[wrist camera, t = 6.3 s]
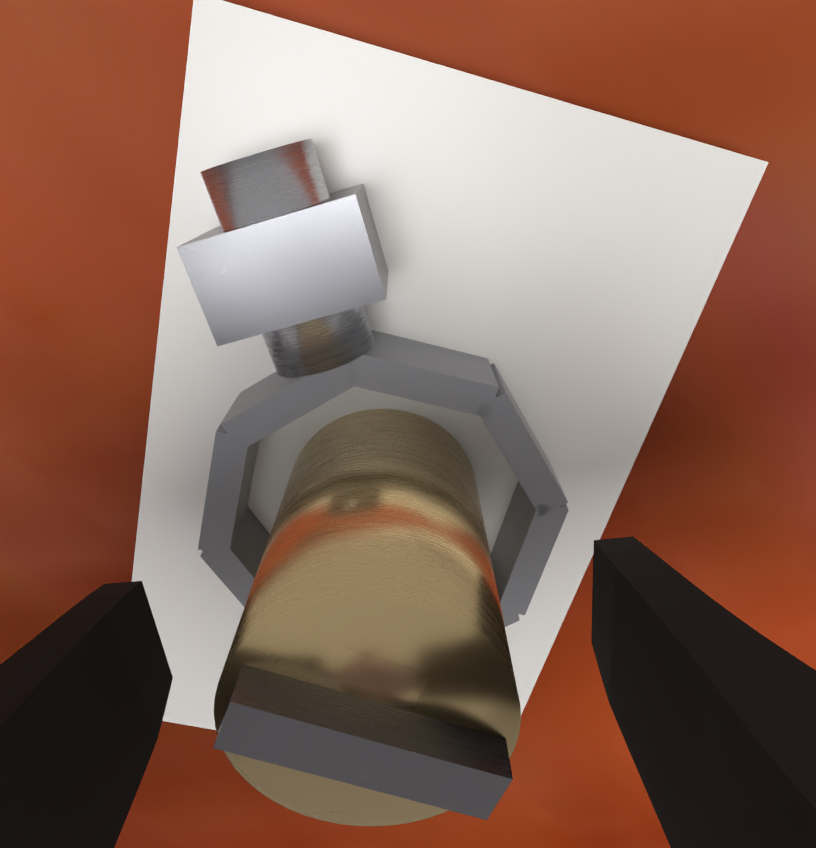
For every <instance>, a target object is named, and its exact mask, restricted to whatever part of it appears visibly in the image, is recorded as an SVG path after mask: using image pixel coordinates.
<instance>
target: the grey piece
mask: <svg viewBox="0 0 816 848" xmlns="http://www.w3.org/2000/svg"><path fill="white" fill-rule="evenodd" d="M200 173H201V176H202V178H203V181H204V183H205V186H206V189H207V191H208V194H209V197H210V199H211V202H212V204H213V207H214V210H215V212H216V215H217V218H218V220H219V223H220V225H221V226H219V227H216V228H213V229H211V230H209V231H207V232H205V233H203V234H202V235H200V236H198V237H196V238H194V239H192V240H190V241H188V242H186V243H184V244H182V245H180V246H178V247H177V250H178V252H179V255H180V257H181V259H182V262H183V264H184V267H185V269H186V272H187V274H188V276H189V279H190V281H191V284H192V286H193V288H194V291H195V293H196V296H197V298H198V301H199V303H200V305H201V308H202V310H203V313H204V315H205V318H206V320H207V322H208V325H209V327H210V330H211V332H212V334H213V337H214V339H215V342H216V344H217V346H221V345H224V344H228V343H231V342H235V341H239V340H242V339H246V338H249V337H253V336H257V335H260V334H262V336H263V338H264V341H265V343H266V346H267V349H268V351H269V354H270V357H271V359H272V362H273V364H274V367H275V370H276V372H277V374H278V375H279V376H281V377H285V378H296V377H304V376H310V375H314V374H318V373H322V372H326V371H329V370H332V369H335V368H337V367H340V366H342V365H345V364H347V363H349V362H351V361H353V360H355V359H357V358H359V357H360V356H362V355H364V354H365V353H366V352H368V351H369V350H370V349H371V348H372V347H373V345H374V338H373V335H372V332H371V329H370V326H369V322H368V319H367V316H366V313H365V309H364V305H368V304H371V303H375V302H379V301H382V300H386V297H387V285H388V273H389V271H388V268H387V264H386V261H385V258H384V254H383V251H382V247H381V244H380V240H379V237H378V233H377V230H376V226H375V223H374V219H373V216H372V212H371V209H370V205H369V202H368V198H367V195H366V191H365V188H364V184H360V185H356V186H353V187H350V188H346V189H343V190H340V191H336V192H333V193H330V194H329V193H328V190H327V187H326V184H325V180H324V177H323V174H322V171H321V167H320V164H319V161H318V158H317V154H316V151H315V148H314V145H313V142H312V139H306V140H302V141H298V142H295V143H291V144H287V145H284V146H280V147H277V148H273V149H270V150H267V151H263V152H260V153H257V154H253V155H250V156H247V157H243V158H240V159H237V160H234V161H231V162H227V163H224V164H221V165H218V166H215V167H212V168H209V169H206V170H204V171H201V172H200Z"/></svg>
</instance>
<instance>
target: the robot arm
mask: <svg viewBox="0 0 816 848" xmlns="http://www.w3.org/2000/svg"><path fill="white" fill-rule="evenodd" d="M592 645H593V649H594V652H595V656H596V659H597V663H598V666H599V670H600V674H601V677H602V680H603V684H604V687H605V690H606V693H607V697H608V700H609V703H610V706H611V708H612V710H613V713H614V715H615V718H616V720H617V722H618V725H619V727H620V730H621V732H622V734H623V737H624V739H625V741H626V744H627V746H628V749H629V751H630V753H631V756H632V758H633V760H634V763H635V765H636V767H637V770H638V772H639V774H640V777H641V779H642V781H643V784H644V786H645V788H646V791H647V793H648V795H649V798H650V800H651V802H652V805H653V807H654V809H655V812H656V814H657V816H658V819H659V821H660V823H661V826H662V828H663V830H664V833H665V835H666V837H667V840H668V842H669V844H670V847H671V848H816V670H814V669H813V668H811V667H809V666H808V665H806V664H805V663H803V662H802V661H800V660H799V659H797V658H796V657H794V656H793V655H791V654H790V653H788V652H787V651H785V650H784V649H782V648H781V647H779V646H778V645H776V644H775V643H773V642H772V641H770V640H769V639H767V638H766V637H764V636H763V635H761V634H760V633H758V632H757V631H756V630H754V629H753V628H751V627H750V626H749V625H747V624H746V623H744V622H743V621H741V620H740V619H739V618H737V617H736V616H735V615H733V614H732V613H731V612H729V611H728V610H726V609H725V608H724V607H722V606H721V605H720V604H718V603H717V602H716V601H714V600H713V599H712V598H710V597H709V596H708V595H706V594H705V593H704V592H703V591H701V590H700V589H699V588H697V587H696V586H695V585H693V584H692V583H691V582H690V581H688V580H687V579H686V578H685V577H683V576H682V575H681V574H680V573H678V572H677V571H676V570H674V569H673V568H672V567H671V566H669V565H668V564H667V563H666V562H664V561H663V560H662V559H661V558H659V557H658V556H657V555H656V554H654V553H653V552H652V551H651V550H649V549H648V548H647V547H646V546H644V545H643V544H642V543H641V542H639V541H638V540H637V539H635V538H634V537H625V538H614V539H602V540H594V555H593V599H592ZM172 679H173V676H172V673H171V670H170V667H169V664H168V661H167V658H166V655H165V652H164V648H163V645H162V642H161V639H160V636H159V633H158V630H157V627H156V624H155V620H154V617H153V614H152V611H151V608H150V605H149V602H148V599H147V596H146V592H145V589H144V586H143V583H142V581H134V582H123V583H112V584H104V585H102V586H101V587H100V588H98V589H97V590H95V591H94V592H92V593H91V594H90V595H88V596H87V597H86V598H84V599H83V600H82V601H80V602H79V603H78V604H76V605H75V606H74V607H73V608H71V609H70V610H69V611H67V612H66V613H65V614H64V615H62V616H61V617H60V618H59V619H57V620H56V621H55V622H54V623H52V624H51V625H50V626H49V627H47V628H46V629H45V630H44V631H42V632H41V633H40V634H39V635H37V636H36V637H35V638H34V639H32V640H31V641H30V642H29V643H27V644H26V645H25V646H24V647H22V648H21V649H20V650H18V651H17V652H16V653H15V654H13V655H12V656H11V657H10V658H8V659H7V660H6V661H5V662H3V663H2V664H1V665H0V848H114V847H115V844H116V842H117V839H118V837H119V834H120V832H121V829H122V827H123V824H124V822H125V819H126V817H127V815H128V812H129V810H130V807H131V805H132V802H133V800H134V797H135V795H136V792H137V790H138V787H139V785H140V782H141V780H142V777H143V775H144V772H145V769H146V767H147V764H148V762H149V759H150V757H151V754H152V752H153V749H154V746H155V744H156V741H157V738H158V734H159V731H160V727H161V723H162V720H163V716H164V712H165V708H166V704H167V700H168V696H169V692H170V688H171V684H172Z"/></svg>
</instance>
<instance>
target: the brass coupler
mask: <svg viewBox="0 0 816 848" xmlns="http://www.w3.org/2000/svg"><path fill="white" fill-rule="evenodd" d="M214 720H215V728H216V731H217V738H216V741H215V744H214V747H213V748H215V749H218V750H222V751H224V752H225V754H226V756H227V757H228V759H229V760H230V762H231V763H232V765H233V766H234V768H235V769H236V770H237V771H238V772H239V773H240V774H241V776H242V777H243V778H244V779H245V780H246V781H247V782H248V783H250V784H251V785H252V786H253V787H254V788H255V789H257V790H258V791H259V792H261V793H262V794H264V795H265V796H267V797H268V798H270V799H271V800H273V801H275V802H276V803H278V804H280V805H282V806H284V807H286V808H288V809H290V810H293V811H295V812H298V813H300V814H302V815H305V816H309V817H312V818H315V819H319V820H323V821H328V822H332V823H337V824H345V825H354V826H387V825H397V824H404V823H410V822H415V821H419V820H423V819H427V818H430V817H433V816H436V815H438V814H441V813H444V812H446V811H448V810H451V811H454V812H458V813H462V814H466V815H470V816H473V817H477V818H481V819H485V820H487V819H488V817H489V816H490V814H491V812H492V811H493V809H494V808H495V806H496V805H497V803H498V801H499V800H500V798H501V797H502V795H503V794H504V792H505V791H506V789H507V787H508V786H509V784H510V783H511V781H512V780H513V778H512V772H511V766H510V760H509V758H510V756H511V754H512V752H513V750H514V748H515V745H516V742H517V739H518V736H519V730H520V723H521V708H520V701H519V696H518V691H517V686H516V681H515V676H514V671H513V666H512V661H511V656H510V651H509V646H508V641H507V636H506V631H505V626H504V621H503V616H502V611H501V606H500V601H499V596H498V591H497V586H496V581H495V576H494V570H493V565H492V560H491V555H490V550H489V545H488V540H487V535H486V530H485V525H484V520H483V515H482V510H481V505H480V500H479V495H478V490H477V485H476V480H475V475H474V471H473V468H472V466H471V463H470V460H469V459H468V457H467V455H466V453H465V451H464V450H463V449H462V447H461V446H460V444H459V443H458V442H457V441H456V440H455V439H454V438H453V437H452V436H451V435H450V434H449V433H448V432H447V431H445V430H444V429H443V428H442V427H440V426H439V425H437V424H435V423H434V422H432V421H430V420H429V419H426V418H424V417H421V416H419V415H417V414H413V413H410V412H406V411H401V410H394V409H370V410H363V411H358V412H354V413H351V414H348V415H345V416H342V417H340V418H338V419H336V420H334V421H332V422H330V423H329V424H327V425H326V426H324V427H323V428H321V429H320V430H319V431H318V432H317V433H316V434H315V435H313V436H312V437H311V439H310V440H309V441H308V442H307V443H306V445H305V446H304V447H303V449H302V451H301V452H300V454H299V455H298V458H297V460H296V462H295V465H294V467H293V470H292V473H291V476H290V479H289V482H288V484H287V487H286V490H285V493H284V496H283V499H282V502H281V504H280V507H279V510H278V513H277V516H276V519H275V522H274V525H273V527H272V530H271V533H270V536H269V539H268V542H267V545H266V547H265V550H264V553H263V556H262V559H261V562H260V565H259V567H258V570H257V573H256V576H255V579H254V582H253V585H252V588H251V590H250V593H249V596H248V599H247V602H246V605H245V608H244V610H243V613H242V616H241V619H240V622H239V625H238V628H237V630H236V633H235V636H234V639H233V642H232V645H231V648H230V651H229V653H228V656H227V659H226V662H225V665H224V668H223V671H222V673H221V676H220V679H219V682H218V686H217V690H216V694H215V699H214Z"/></svg>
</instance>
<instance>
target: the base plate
mask: <svg viewBox="0 0 816 848" xmlns="http://www.w3.org/2000/svg"><path fill="white" fill-rule="evenodd" d="M306 139H312V142H313V145H314V148H315V151H316V154H317V158H318V161H319V164H320V167H321V171H322V174H323V177H324V180H325V184H326V187H327V190H328V193H329V194H330V193H333V192H336V191H340V190H343V189H346V188H350V187H353V186H356V185H360V184H364V188H365V191H366V195H367V198H368V202H369V205H370V209H371V212H372V216H373V219H374V223H375V226H376V230H377V233H378V237H379V240H380V244H381V247H382V251H383V254H384V258H385V261H386V264H387V268H388V271H389V273H388V285H387V297H386V300H382V301H379V302H375V303H371V304H368V305H364V309H365V313H366V316H367V319H368V322H369V326H370V329H371V332H372V335H373V338H374V345H373V347H372V348H371V349H370V350H369V351H368V352H366V353H365V354H364V355H362V356H360V357H359V358H357V359H355V360H353V361H351V362H349V363H347V364H345V365H342V366H340V367H337V368H335V369H332V370H329V371H326V372H322V373H318V374H314V375H310V376H304V377H296V378H285V377H281V376H279V375H278V374H277V372H276V370H275V367H274V364H273V362H272V359H271V357H270V354H269V351H268V349H267V346H266V343H265V341H264V338H263V336H262V334H260V335H257V336H253V337H249V338H246V339H242V340H239V341H235V342H231V343H228V344H224V345H221V346H217V344H216V342H215V339H214V337H213V334H212V332H211V330H210V327H209V325H208V322H207V320H206V318H205V315H204V313H203V310H202V308H201V305H200V303H199V301H198V298H197V296H196V293H195V291H194V288H193V286H192V284H191V281H190V279H189V276H188V274H187V272H186V269H185V267H184V264H183V262H182V259H181V257H180V255H179V252H178V250H177V247H178V246H180V245H182V244H184V243H186V242H188V241H190V240H192V239H194V238H196V237H198V236H200V235H202V234H203V233H205V232H207V231H209V230H211V229H213V228H216V227H219V226H221V225H220V223H219V220H218V218H217V215H216V212H215V210H214V207H213V204H212V202H211V199H210V197H209V194H208V191H207V189H206V186H205V183H204V181H203V178H202V176H201V173H200V172H201V171H204V170H206V169H209V168H212V167H215V166H218V165H221V164H224V163H227V162H231V161H234V160H237V159H240V158H243V157H247V156H250V155H253V154H257V153H260V152H263V151H267V150H270V149H273V148H277V147H280V146H284V145H287V144H291V143H295V142H298V141H302V140H306ZM767 165H768V162H766V161H762V160H759V159H755V158H752V157H749V156H745V155H742V154H739V153H735V152H732V151H728V150H725V149H722V148H718V147H715V146H712V145H708V144H705V143H702V142H698V141H695V140H691V139H688V138H685V137H681V136H678V135H675V134H671V133H668V132H664V131H661V130H658V129H654V128H651V127H648V126H644V125H641V124H637V123H634V122H631V121H627V120H624V119H621V118H617V117H614V116H610V115H607V114H604V113H600V112H597V111H594V110H590V109H587V108H584V107H580V106H577V105H573V104H570V103H567V102H563V101H560V100H557V99H553V98H550V97H546V96H543V95H540V94H536V93H533V92H530V91H526V90H523V89H519V88H516V87H513V86H509V85H506V84H503V83H499V82H496V81H493V80H489V79H486V78H482V77H479V76H476V75H472V74H469V73H466V72H462V71H459V70H455V69H452V68H449V67H445V66H442V65H439V64H435V63H432V62H428V61H425V60H422V59H418V58H415V57H412V56H408V55H405V54H402V53H398V52H395V51H391V50H388V49H385V48H381V47H378V46H375V45H371V44H368V43H364V42H361V41H358V40H354V39H351V38H348V37H344V36H341V35H337V34H334V33H331V32H327V31H324V30H321V29H317V28H314V27H310V26H307V25H304V24H300V23H297V22H294V21H290V20H287V19H284V18H280V17H277V16H273V15H270V14H267V13H263V12H260V11H257V10H253V9H250V8H246V7H243V6H240V5H236V4H233V3H230V2H226V1H223V0H194V1H193V11H192V20H191V29H190V39H189V48H188V58H187V67H186V76H185V86H184V95H183V104H182V114H181V123H180V133H179V142H178V151H177V161H176V170H175V180H174V189H173V198H172V208H171V217H170V227H169V236H168V245H167V255H166V264H165V273H164V283H163V292H162V302H161V311H160V320H159V330H158V339H157V349H156V358H155V367H154V377H153V386H152V396H151V405H150V414H149V424H148V433H147V442H146V452H145V461H144V471H143V480H142V489H141V499H140V508H139V518H138V527H137V536H136V546H135V555H134V564H133V574H132V582H134V581H142V583H143V586H144V589H145V592H146V596H147V599H148V602H149V605H150V608H151V611H152V614H153V617H154V620H155V624H156V627H157V630H158V633H159V636H160V639H161V642H162V645H163V648H164V652H165V655H166V658H167V661H168V664H169V667H170V670H171V673H172V676H173V679H172V684H171V688H170V692H169V696H168V700H167V704H166V708H165V712H164V716H163V720H162V721H166V722H172V723H177V724H183V725H189V726H195V727H201V728H207V729H212V730H216V728H215V720H214V699H215V694H216V690H217V686H218V682H219V679H220V676H221V673H222V671H223V668H224V665H225V662H226V659H227V656H228V653H229V651H230V648H231V645H232V642H233V639H234V636H235V633H236V630H237V628H238V625H239V622H240V619H241V616H242V613H243V610H244V608H245V605H246V602H247V599H248V596H249V593H250V590H251V588H252V585H253V582H254V579H255V576H256V573H257V570H258V567H259V565H260V562H261V559H262V556H263V553H264V550H265V547H266V545H267V542H268V539H269V536H270V533H271V530H272V527H273V525H274V522H275V519H276V516H277V513H278V510H279V507H280V504H281V502H282V499H283V496H284V493H285V490H286V487H287V484H288V482H289V479H290V476H291V473H292V470H293V467H294V465H295V462H296V460H297V458H298V455H299V454H300V452H301V451H302V449H303V447H304V446H305V445H306V443H307V442H308V441H309V440H310V439H311V437H312V436H313V435H315V434H316V433H317V432H318V431H319V430H320V429H321V428H323V427H324V426H326V425H327V424H329V423H330V422H332V421H334V420H336V419H338V418H340V417H342V416H345V415H348V414H351V413H354V412H358V411H363V410H370V409H394V410H401V411H406V412H410V413H413V414H417V415H419V416H421V417H424V418H426V419H429V420H430V421H432V422H434V423H435V424H437V425H439V426H440V427H442V428H443V429H444V430H445V431H447V432H448V433H449V434H450V435H451V436H452V437H453V438H454V439H455V440H456V441H457V442H458V443H459V444H460V446H461V447H462V449H463V450H464V451H465V453H466V455H467V457H468V459H469V460H470V463H471V466H472V468H473V471H474V475H475V480H476V485H477V490H478V495H479V500H480V505H481V510H482V515H483V520H484V525H485V530H486V535H487V540H488V545H489V550H490V555H491V560H492V565H493V570H494V576H495V581H496V586H497V591H498V596H499V601H500V606H501V611H502V616H503V621H504V626H505V631H506V636H507V641H508V646H509V651H510V656H511V661H512V666H513V671H514V676H515V681H516V686H517V691H518V696H519V701H520V708H521V714H522V712H523V710H524V708H525V705H526V703H527V701H528V699H529V696H530V694H531V692H532V690H533V687H534V685H535V683H536V681H537V678H538V676H539V674H540V672H541V670H542V667H543V665H544V663H545V661H546V658H547V656H548V654H549V652H550V649H551V647H552V645H553V643H554V640H555V638H556V636H557V634H558V632H559V629H560V627H561V625H562V623H563V620H564V618H565V616H566V614H567V611H568V609H569V607H570V605H571V603H572V600H573V598H574V596H575V594H576V591H577V589H578V587H579V585H580V582H581V580H582V578H583V576H584V573H585V571H586V569H587V567H588V565H589V562H590V560H591V558H592V556H593V553H594V540H600V538H601V536H602V533H603V531H604V529H605V527H606V524H607V522H608V520H609V518H610V515H611V513H612V511H613V509H614V506H615V504H616V502H617V500H618V498H619V495H620V493H621V491H622V489H623V486H624V484H625V482H626V480H627V477H628V475H629V473H630V471H631V468H632V466H633V464H634V462H635V460H636V457H637V455H638V453H639V451H640V448H641V446H642V444H643V442H644V439H645V437H646V435H647V433H648V431H649V428H650V426H651V424H652V422H653V419H654V417H655V415H656V413H657V410H658V408H659V406H660V404H661V401H662V399H663V397H664V395H665V393H666V390H667V388H668V386H669V384H670V381H671V379H672V377H673V375H674V372H675V370H676V368H677V366H678V363H679V361H680V359H681V357H682V355H683V352H684V350H685V348H686V346H687V343H688V341H689V339H690V337H691V334H692V332H693V330H694V328H695V326H696V323H697V321H698V319H699V317H700V314H701V312H702V310H703V308H704V305H705V303H706V301H707V299H708V296H709V294H710V292H711V290H712V288H713V285H714V283H715V281H716V279H717V276H718V274H719V272H720V270H721V267H722V265H723V263H724V261H725V259H726V256H727V254H728V252H729V250H730V247H731V245H732V243H733V241H734V238H735V236H736V234H737V232H738V229H739V227H740V225H741V223H742V221H743V218H744V216H745V214H746V212H747V209H748V207H749V205H750V203H751V200H752V198H753V196H754V194H755V191H756V189H757V187H758V185H759V183H760V180H761V178H762V176H763V174H764V171H765V169H766V167H767Z"/></svg>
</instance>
